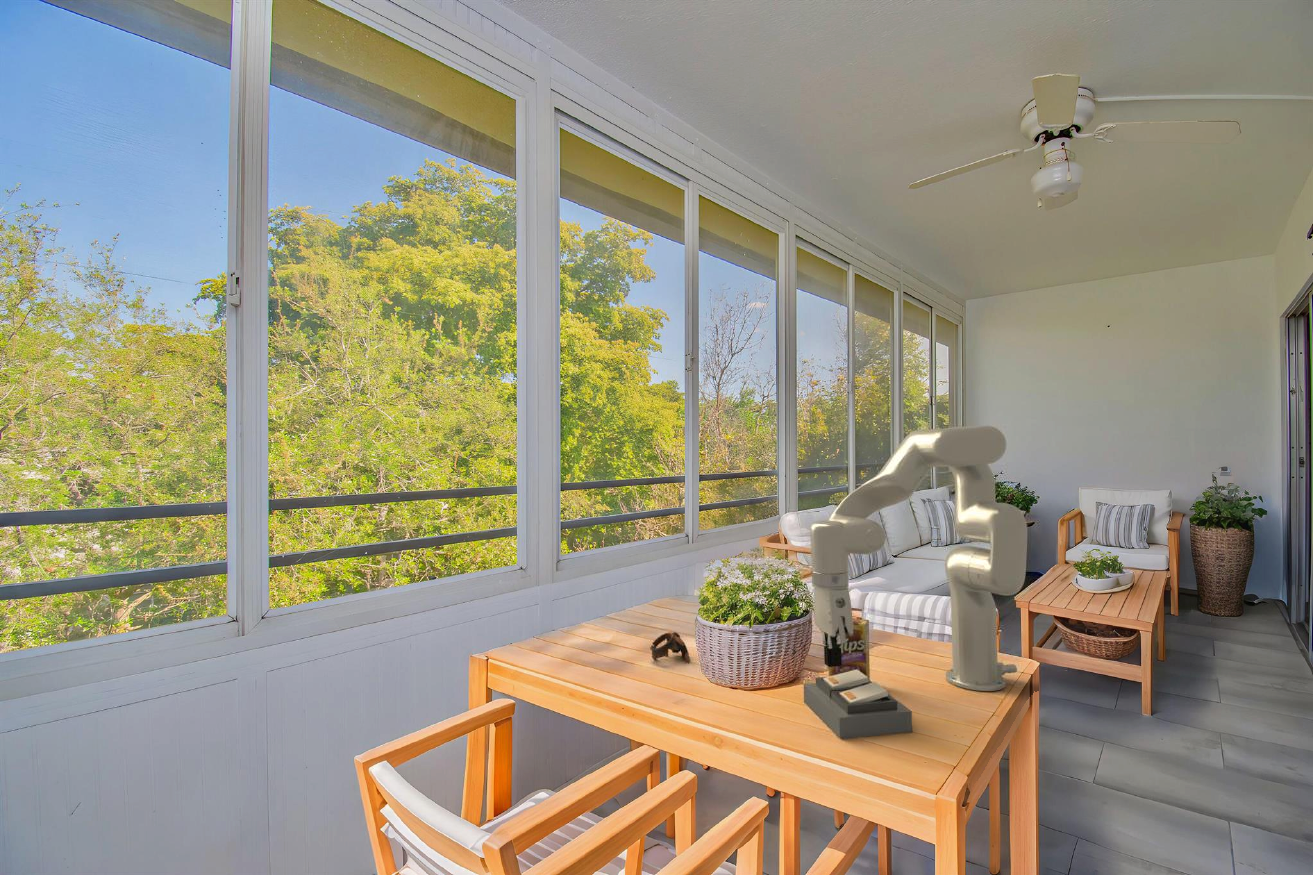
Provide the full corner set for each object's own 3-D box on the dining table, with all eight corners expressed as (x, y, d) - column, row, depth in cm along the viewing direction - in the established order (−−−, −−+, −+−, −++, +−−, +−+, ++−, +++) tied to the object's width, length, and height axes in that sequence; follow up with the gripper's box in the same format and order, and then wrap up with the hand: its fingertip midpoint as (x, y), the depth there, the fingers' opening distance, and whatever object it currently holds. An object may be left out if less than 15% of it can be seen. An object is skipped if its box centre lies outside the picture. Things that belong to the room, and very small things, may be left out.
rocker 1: (857, 673, 139) (856, 668, 139) (868, 682, 134) (867, 676, 134) (823, 682, 138) (822, 677, 138) (833, 691, 133) (832, 685, 133)
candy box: (828, 683, 150) (826, 618, 151) (832, 677, 154) (831, 614, 154) (867, 690, 146) (865, 623, 146) (870, 683, 150) (869, 618, 150)
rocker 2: (875, 686, 131) (874, 680, 131) (888, 695, 126) (886, 689, 126) (840, 697, 130) (839, 691, 130) (851, 707, 125) (850, 701, 125)
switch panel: (867, 696, 142) (867, 671, 142) (912, 731, 124) (911, 702, 124) (803, 701, 140) (803, 676, 140) (839, 738, 122) (839, 709, 122)
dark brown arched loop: (690, 669, 164) (674, 643, 163) (659, 682, 166) (643, 656, 165) (695, 643, 175) (680, 618, 174) (666, 656, 178) (651, 632, 177)
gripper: (863, 585, 129) (866, 676, 129) (831, 571, 144) (834, 652, 144) (828, 587, 128) (831, 679, 128) (800, 573, 143) (803, 655, 143)
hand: (833, 665), depth 136 cm, fingers closed
